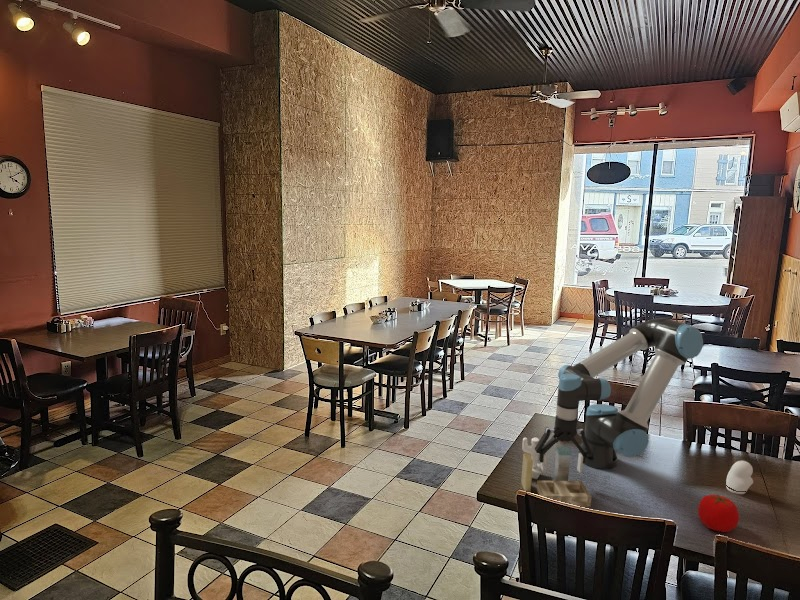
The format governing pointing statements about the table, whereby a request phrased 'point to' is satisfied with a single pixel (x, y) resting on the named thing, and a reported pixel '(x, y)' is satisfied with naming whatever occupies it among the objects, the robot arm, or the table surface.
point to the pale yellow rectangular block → (527, 472)
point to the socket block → (565, 492)
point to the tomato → (718, 513)
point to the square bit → (562, 464)
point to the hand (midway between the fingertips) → (560, 470)
